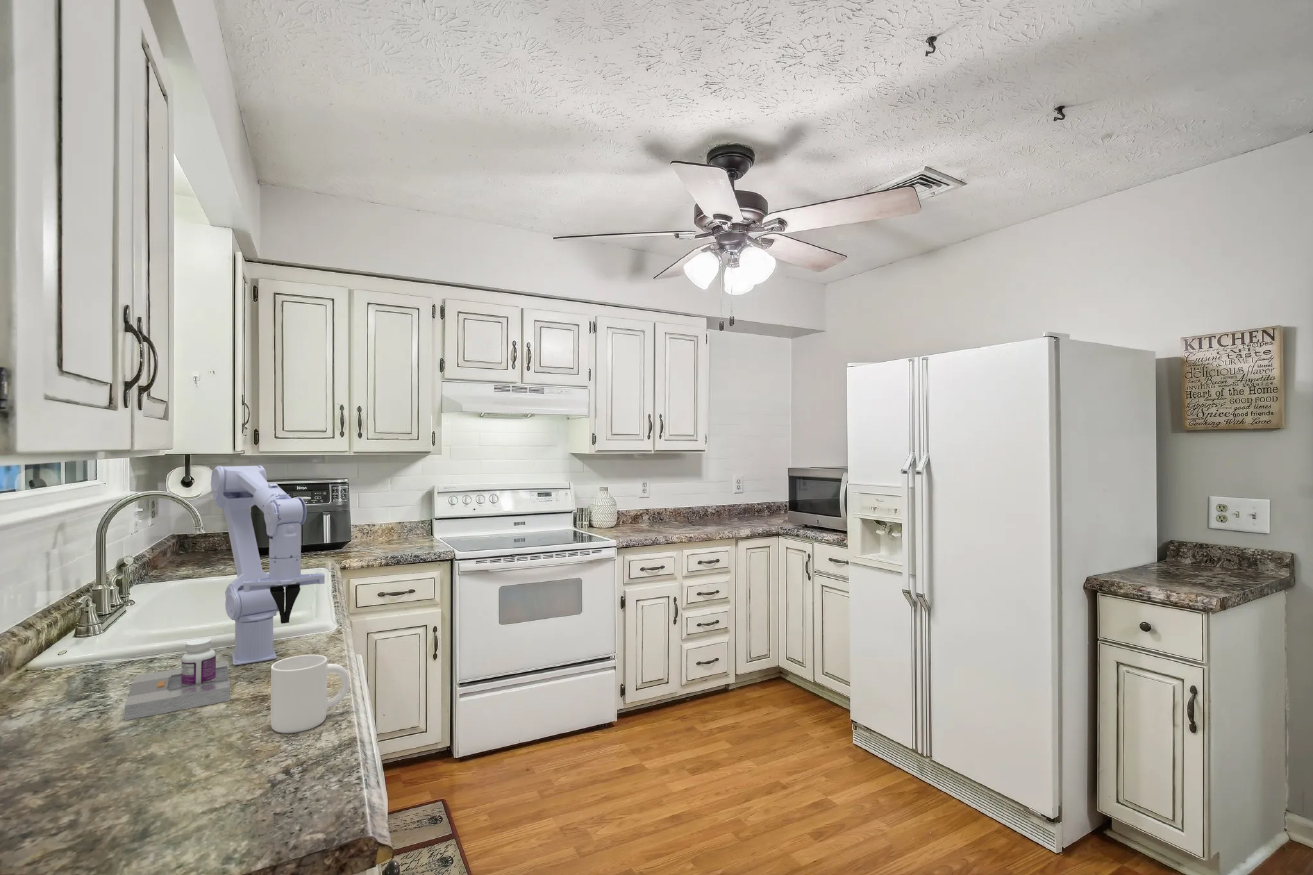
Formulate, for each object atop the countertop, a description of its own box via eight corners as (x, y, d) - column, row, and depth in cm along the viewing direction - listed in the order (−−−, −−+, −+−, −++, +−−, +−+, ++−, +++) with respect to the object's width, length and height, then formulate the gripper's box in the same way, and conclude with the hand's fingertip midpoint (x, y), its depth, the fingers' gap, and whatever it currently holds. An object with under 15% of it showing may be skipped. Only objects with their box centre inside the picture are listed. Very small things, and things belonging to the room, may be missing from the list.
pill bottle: (213, 684, 127) (214, 635, 127) (217, 692, 123) (218, 641, 123) (179, 691, 123) (180, 640, 123) (182, 699, 119) (183, 647, 119)
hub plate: (134, 688, 125) (135, 674, 125) (227, 672, 133) (228, 659, 133) (124, 720, 110) (124, 704, 110) (229, 700, 118) (230, 685, 118)
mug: (343, 704, 116) (344, 647, 117) (355, 719, 110) (355, 658, 110) (267, 722, 109) (267, 660, 109) (274, 739, 103) (275, 674, 103)
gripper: (244, 562, 126) (243, 632, 126) (326, 555, 134) (326, 620, 134) (243, 558, 132) (243, 624, 132) (322, 551, 140) (322, 614, 140)
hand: (284, 622), depth 133 cm, fingers closed
